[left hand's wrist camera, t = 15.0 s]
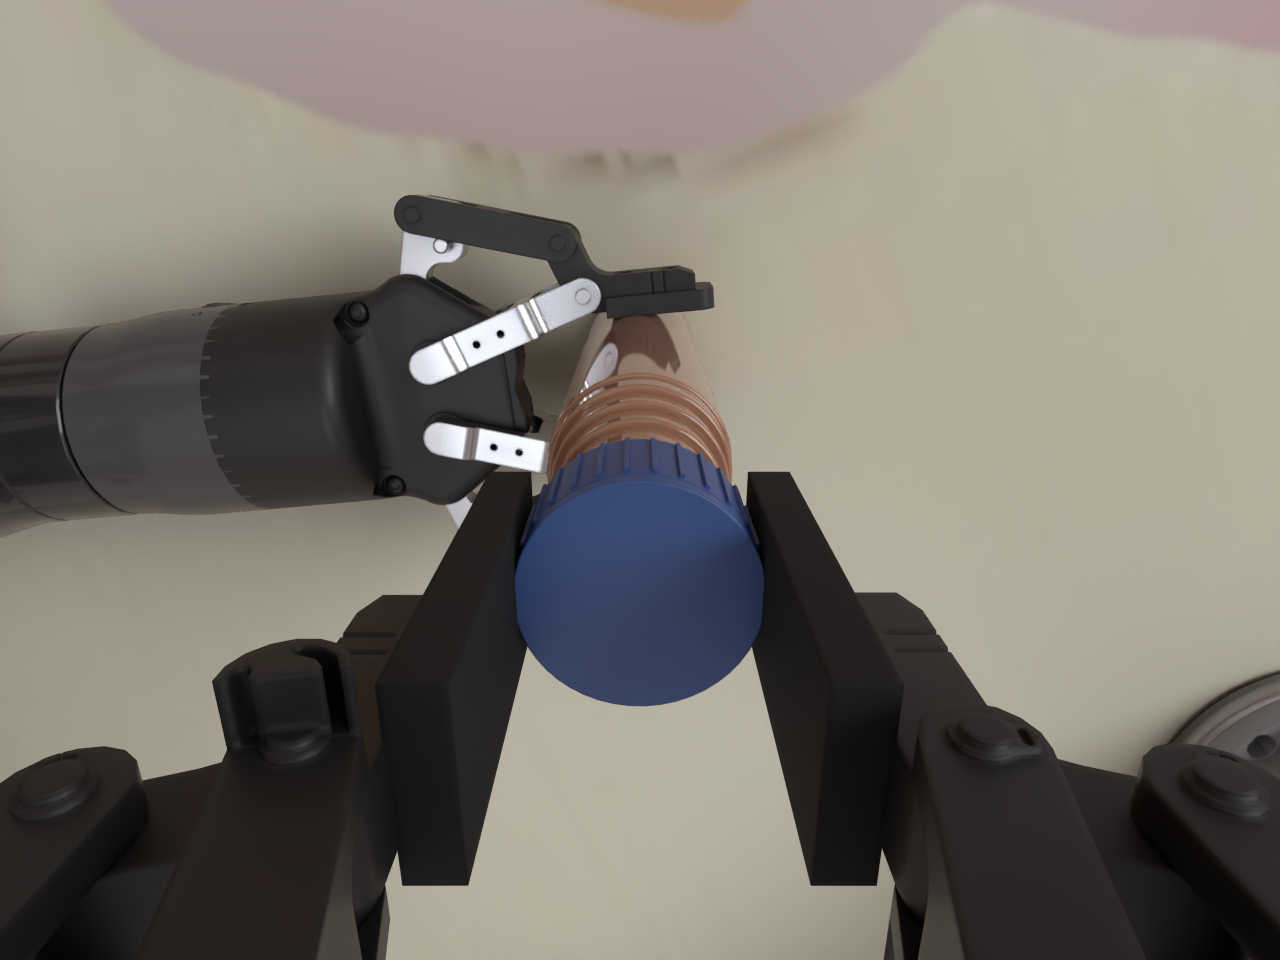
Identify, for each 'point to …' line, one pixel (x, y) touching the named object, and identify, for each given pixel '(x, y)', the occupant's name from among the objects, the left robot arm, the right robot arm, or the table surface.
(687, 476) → the cap
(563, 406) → the bottle
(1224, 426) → the table surface
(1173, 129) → the table surface
